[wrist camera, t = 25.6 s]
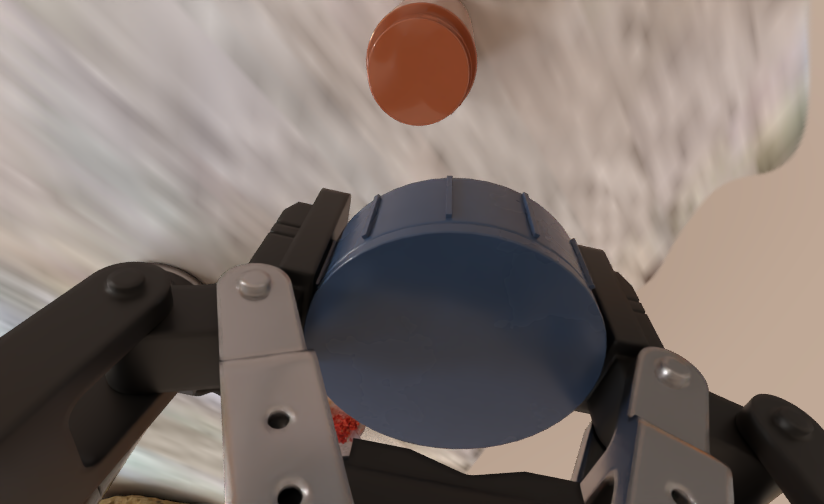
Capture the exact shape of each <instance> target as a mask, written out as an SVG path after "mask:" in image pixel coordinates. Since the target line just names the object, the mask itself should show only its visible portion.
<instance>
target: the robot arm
mask: <svg viewBox="0 0 824 504" xmlns="http://www.w3.org/2000/svg"><path fill="white" fill-rule="evenodd" d="M350 202H351V194H348V193H344V192H339V191H335V190H330V189H325V188H322V190H321V191H320V193H319V195H318V197H317V198H316V200H315V202H314V204H313V205H311V204H306V203H302V202H298V203H296V204H294V205H292V206H290V207H288V208H287V209H285V210H284V211H283V212H282V214H281V215H280V217H279V218H278V220H277V222H276V223H275V224H274V226H273V227H272V229H271V231H270V233H268V235H267V236H266V238H265V239H264V241H263V242H262V244H261V245H260V247H259V248H258V250H257V251H256V253H255V254H254V256H253V257H252V259H251V260H250V262H249V263H248V264H242V265H239V266H235V267H233V268H231V269H229V270H227V271H226V272H224V273H223V274H222V275H221V277H220V278H219V279H218V282H217V283H215V284H208V285H203V284H202V283H200V282H199V281H198V280H197V279H195V278H194V277H193V276H191V275H189V274H188V273H186V272H184V271H182V270H180V269H177V268H175V267H172V266H169V265H165V264H158V263H145V262H125V263H119V264H115V265H111V266H108V267H105V268H103V269H101V270H98V271H97V272H95V273H93V274H92V275H90V276H89V277H88V278H86V279H85V280H83V281H82V282H80V283H79V284H77V285H76V286H74V287H73V288H72V289H70V290H69V291H67V292H66V293H64V294H63V295H61V296H60V297H58V298H57V299H56V300H54V301H53V302H51V303H50V304H48V305H47V306H45V307H44V308H42V309H41V310H40V311H38V312H37V313H35V314H34V315H32V316H31V317H29V318H28V319H26V320H25V321H24V322H22V323H21V324H19V325H18V326H16V327H15V328H13V329H12V330H10V331H9V332H8V333H6V334H5V335H3V336H2V337H0V504H99V502H100V501H101V499H102V498H103V496H104V495H105V493H106V492H107V490H108V489H109V487H110V486H111V484H112V483H113V481H114V480H115V478H116V476H117V475H118V473H119V472H120V470H121V469H122V467H123V466H124V464H125V463H126V461H127V459H128V458H129V456H130V455H131V453H132V452H133V450H134V449H135V447H136V445H137V444H138V442H139V441H140V439H141V438H142V436H143V435H144V433H145V432H146V430H147V429H148V427H149V426H150V425H151V424H152V422H153V421H154V420H155V419H156V418H157V416H158V415H159V414H160V413H161V412H162V411H163V409H164V408H165V407H166V406H167V405H168V403H169V402H170V401H171V400H172V399H173V398H174V396H175V395H176V394H177V393H183V394H187V395H192V396H202V395H205V394H207V393H210V392H213V393H216V394H218V395H220V396H221V416H222V440H223V464H224V488H225V504H769V503H770V502H771V501H772V500H774V499H775V498H776V497H778V496H779V495H780V494H782V493H784V495H785V496H786V498H787V499H788V500H789V502H790V503H791V504H824V430H823V429H822V428H821V426H820V425H819V424H818V423H817V422H816V421H815V420H814V419H812V418H811V417H810V416H809V415H808V414H806V413H805V412H804V411H802V410H801V409H800V408H798V407H797V406H795V405H793V404H791V403H790V402H788V401H786V400H784V399H782V398H779V397H776V396H773V395H768V394H758V395H756V396H754V397H753V398H752V399H751V400H750V401H749V402H748V403H747V404H746V405H745V406H744V407H743V406H741V405H738V404H736V403H734V402H731V401H729V400H727V399H725V398H723V397H720V396H718V395H716V394H714V393H711V392H709V389H708V385H707V382H706V380H705V378H704V377H703V375H702V374H701V373H700V372H699V370H698V369H697V368H696V367H695V366H693V365H692V364H691V363H690V362H689V361H687V360H686V359H684V358H683V357H681V356H680V355H678V354H676V353H674V352H672V351H669V350H667V349H665V348H664V347H663V345H662V343H661V341H660V339H659V337H658V335H657V333H656V331H655V329H654V327H653V326H652V324H651V322H650V320H649V318H648V316H647V314H645V310H644V308H643V306H642V304H641V303H639V299H638V297H637V295H636V293H635V291H634V289H633V287H632V286H631V285H630V284H629V283H628V282H627V281H626V280H625V279H624V278H623V277H622V276H621V275H620V274H619V273H618V272H615V271H613V269H612V266H611V264H610V262H609V260H608V258H607V256H606V254H605V252H604V251H603V250H600V249H595V248H591V247H586V246H582V245H578V247H579V250H580V252H581V254H582V257H583V259H584V261H585V264H586V266H587V269H588V271H589V273H590V276H591V278H592V280H593V283H594V285H595V288H594V289H592V292H593V294H594V297H595V299H596V302H597V304H598V307H599V309H600V311H601V314H602V316H603V320H604V324H605V329H606V336H607V350H606V357H605V363H604V366H603V369H602V371H601V374H600V377H599V379H598V381H597V382H596V384H595V386H594V388H593V390H592V391H591V392H590V394H589V395H588V396H587V397H586V399H585V400H584V401H583V402H582V403H581V404H580V405H579V406H578V407H577V408H576V409H575V410H574V411H578V412H583V413H588V414H590V415H591V418H592V421H591V422H590V424H589V425H588V427H587V428H586V429H585V432H584V435H583V438H582V442H581V445H580V449H579V453H578V456H577V460H576V463H575V467H574V470H573V474H572V478H571V481H569V480H564V479H559V478H554V477H549V476H544V475H538V474H534V473H529V472H514V473H500V474H486V475H466V474H464V473H461V472H459V471H457V470H454V469H452V468H450V467H448V466H446V465H444V464H441V463H439V462H437V461H435V460H433V459H430V458H428V457H426V456H424V455H422V454H420V453H417V452H415V451H413V450H411V449H407V448H402V447H397V446H392V445H387V444H382V443H377V442H372V441H366V440H361V439H356V438H353V442H352V446H351V451H350V455H349V456H342V454H341V450H340V446H339V442H338V438H337V434H336V430H335V426H334V422H333V418H332V414H331V410H330V406H329V402H328V398H327V394H326V390H325V386H324V382H323V378H322V374H321V370H320V366H319V362H318V358H317V355H316V352H315V350H314V349H307V347H306V343H305V339H304V335H303V328H304V323H305V317H306V313H307V310H308V308H309V305H310V303H311V300H312V298H313V295H314V293H315V291H316V288H315V286H316V282H317V279H318V277H319V275H320V272H321V270H322V268H323V265H324V263H325V261H326V258H327V256H328V254H329V251H330V249H331V247H332V244H333V242H334V240H335V241H337V239H338V237H339V236H340V234H341V232H342V231H343V229H344V228H345V226H346V225H347V224H348V217H349V209H350Z"/></svg>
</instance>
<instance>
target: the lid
mask: <svg viewBox="0 0 824 504" xmlns="http://www.w3.org/2000/svg"><path fill="white" fill-rule="evenodd" d="M315 288H316V291H315V293H314V295H313V298H312V300H311V303H310V305H309V308H308V310H307V313H306V317H305V323H304V328H303V335H304V339H305V343H306V347H307V349H314V350H315V352H316V355H317V358H318V362H319V366H320V370H321V374H322V378H323V382H324V386H325V390H326V394H327V396H328V397H329V398H330V399H331V400H332V401H333V402H334V403H335V404H336V405H337V406H338V407H339V408H340V409H341V410H343V411H344V412H345V413H346V414H348V415H349V416H351V417H352V418H353V419H355V420H356V421H358V422H359V423H361V424H363V425H365V426H367V427H369V428H370V429H372V430H374V431H377V432H379V433H381V434H384V435H386V436H389V437H392V438H395V439H398V440H401V441H404V442H408V443H412V444H416V445H422V446H428V447H434V448H446V449H474V448H486V447H491V446H498V445H503V444H507V443H511V442H515V441H519V440H521V439H524V438H527V437H530V436H533V435H535V434H537V433H539V432H541V431H544V430H546V429H548V428H549V427H551V426H553V425H555V424H556V423H558V422H560V421H561V420H562V419H564V418H565V417H566V416H568V415H569V414H570V413H572V412H573V411H574V410H575V409H576V408H577V407H578V406H579V405H580V404H581V403H582V402H583V401H584V400H585V399H586V397H587V396H588V395H589V394H590V392H591V391H592V390H593V388H594V386H595V384H596V382H597V381H598V379H599V377H600V374H601V371H602V369H603V366H604V363H605V357H606V350H607V336H606V329H605V324H604V320H603V316H602V314H601V311H600V309H599V307H598V304H597V302H596V299H595V297H594V294H593V292H592V289H594V288H595V285H594V283H593V280H592V278H591V276H590V273H589V271H588V269H587V266H586V264H585V261H584V259H583V257H582V254H581V252H580V250H579V247H578V245H577V242H576V240H575V239H574V238H573V239H570V238H569V236H568V234H567V233H566V231H565V230H564V228H563V227H562V226H561V225H560V223H559V222H558V221H557V220H556V219H555V218H554V217H553V216H552V215H551V214H550V213H549V212H548V211H546V210H545V209H544V208H543V207H542V206H540V205H539V204H538V203H536V202H535V201H533V200H531V199H530V198H529V196H528V194H527V193H525V192H523V194H521V193H518V192H516V191H514V190H512V189H509V188H507V187H504V186H501V185H497V184H494V183H491V182H487V181H480V180H474V179H466V178H453V176H447V178H441V179H430V180H425V181H420V182H415V183H411V184H408V185H405V186H403V187H400V188H397V189H394V190H392V191H390V192H388V193H386V194H384V195H382V196H380V195H379V194H378V195H376V196H375V197H374V200H373V201H372V202H371V203H369V204H368V205H366V206H365V207H364V208H363V209H362V210H360V211H359V212H358V213H357V214H356V215H355V216H354V217H353V218H352V219H351V220H350V221H349V223H348V224H347V225H346V226H345V228H344V229H343V231H342V232H341V234H340V236H339V237H338V239H337V241H335V240H334V242H333V244H332V247H331V249H330V251H329V254H328V256H327V258H326V261H325V263H324V265H323V268H322V270H321V272H320V275H319V277H318V279H317V282H316V286H315Z"/></svg>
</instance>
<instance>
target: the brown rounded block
mask: <svg viewBox="0 0 824 504" xmlns="http://www.w3.org/2000/svg"><path fill="white" fill-rule="evenodd" d="M99 504H188V503H178V502H176V503H175V502H173V501H169V500H161V499H158V498H151V497H145V496H139V495H130V496H114V497H111V498H108V499H103V500H101V501H100V502H99Z"/></svg>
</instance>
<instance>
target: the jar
mask: <svg viewBox="0 0 824 504" xmlns="http://www.w3.org/2000/svg"><path fill="white" fill-rule="evenodd" d="M366 67H367V74H368V83H369V86H370V90H371V92H372V95H373V97H374V99H375V100H376V102H377V104H378V105H379V106H380V108H381V109H382V110H383V111H384V112H385V113H387V114H388V115H389V116H390V117H392V118H393V119H395V120H397V121H399V122H401V123H405V124H408V125H415V126H423V125H429V124H433V123H436V122H439V121H441V120H443V119H444V118H446V117H447V116H449V115H450V114H452V113H453V112H454V111H455V110H456V109H457V108H458V107H459V106H460V105H461V103H462V102H463V101H464V99H465V98H466V97H467V95H468V94H469V92H470V90H471V88H472V86H473V83H474V80H475V76H476V72H477V52H476V46H475V40H474V34H473V29H472V23H471V19H470V16H469V14H468V11H467V10H466V8H465V6H464V5H463V4H462V2H461V1H460V0H403V1H402V2H401V3H400V4H399V5H398V6H397V7H395V8H394V9H393V10H392V11H391V12H390V13H389V14H388V15H386V16H385V17H384V18H383V19H382V20H381V22H380V23H379V24H378V25H377V27H376V28H375V30H374V32H373V34H372V36H371V38H370V41H369V44H368V49H367V56H366Z"/></svg>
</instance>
